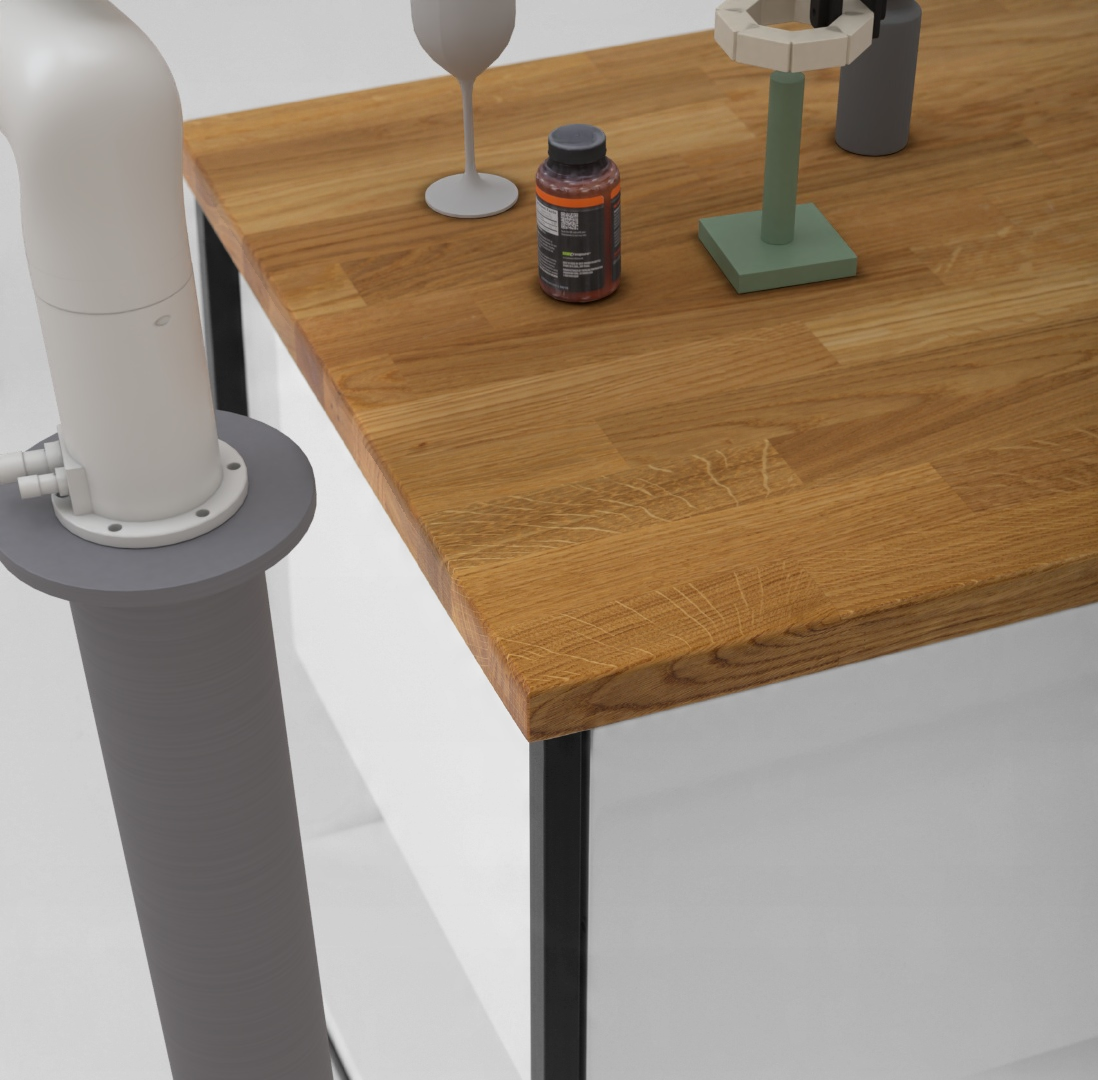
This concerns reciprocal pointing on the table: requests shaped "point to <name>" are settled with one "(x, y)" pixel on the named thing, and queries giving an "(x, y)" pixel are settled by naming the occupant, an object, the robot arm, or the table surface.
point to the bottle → (881, 85)
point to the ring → (791, 34)
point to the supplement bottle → (578, 216)
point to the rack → (779, 213)
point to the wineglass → (466, 91)
